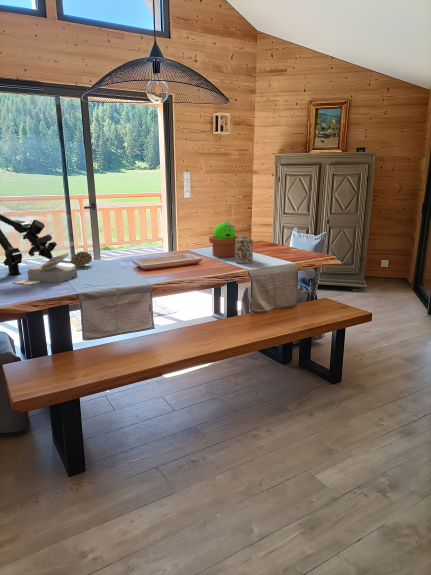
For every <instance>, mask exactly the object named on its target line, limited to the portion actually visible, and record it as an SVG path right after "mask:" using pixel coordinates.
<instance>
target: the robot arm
mask: <svg viewBox="0 0 431 575" xmlns="http://www.w3.org/2000/svg"><path fill="white" fill-rule="evenodd" d="M0 221H1V222H3V223H5V224H6V225H8V226H11V227H12V228H13V230H14V231H16V232H18V234H22V240H27V241H29V242H30V246H31V248H30V249H29V250H28V252H27V254H28V255H29V256H30V257H34V256H35V253H38V256H40V257H44V258H46V259H48V260H50V259H51V258H53V257H54V256H53V254H52V252H53V251H54V249H55V248H56V247H57V245H58V244H57V242H56V241H52V239H53V236H52V235H51V234H50V233H47V234H46V235H44V236H41V237H40V236H39V235H40V234H41V233H42V232H43V230H44V228H45V226H46V225H45V223H43V222H42V221H39V220H38V219H33V221H32V222H31V223H30V222H28V221H24V220H18V219H17V218H14V217H12V216H11V215H8V214H6V213H4V212H3V211H0ZM23 233H24V234H23ZM50 241H51V242H50ZM0 246H1V247H2V248H3V249H2V250H4V257H5V260H4V261H3V265H4V266H7V268H8V272H7V273H6V274H7V275H9V276H11V277H13V276H17V275H19V276H20V275H22V273H21V272H20V269H19V264H22V261H23V254H22V251H21V250H20V249H19V248H18V247H13V245H12V244H11V242H10V241H9V239H8V238H7V237H6V235H5V234H4V232H3V231H2V229H1V228H0Z"/></svg>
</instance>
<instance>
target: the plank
mask: <svg viewBox="0 0 431 575" xmlns="http://www.w3.org/2000/svg"><path fill="white" fill-rule="evenodd" d="M41 282H42V281H37V280H28V279H23V278H21V279H19V280H16V281H13V282H12V284H13V285H14V284H16V285H24V286H35V285H37V284H39V283H41Z"/></svg>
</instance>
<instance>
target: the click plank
mask: <svg viewBox="0 0 431 575" xmlns="http://www.w3.org/2000/svg"><path fill="white" fill-rule="evenodd" d="M68 256H70V254H69V252H66V253H63V254H59V255H57V256H53V258H51V259H48V260H47V261H46V262H45V263H43V264H44V265H43V266H41V267H40V268H39V269H38V270H39V271H41V270H44V269H47V268H50V267H54V266H58V265H59V263H62V262H61V261H64V260H65V259H66V258H67V257H68Z"/></svg>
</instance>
